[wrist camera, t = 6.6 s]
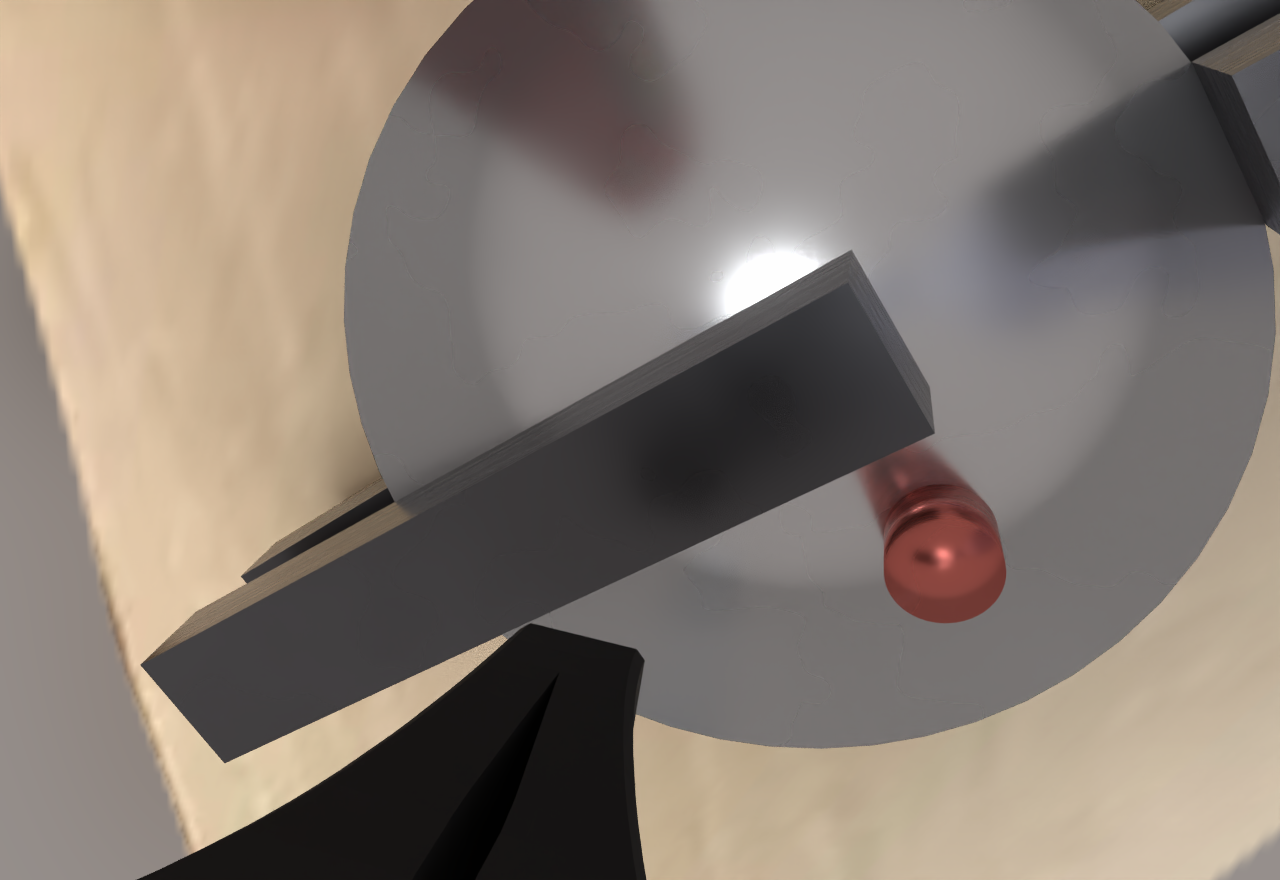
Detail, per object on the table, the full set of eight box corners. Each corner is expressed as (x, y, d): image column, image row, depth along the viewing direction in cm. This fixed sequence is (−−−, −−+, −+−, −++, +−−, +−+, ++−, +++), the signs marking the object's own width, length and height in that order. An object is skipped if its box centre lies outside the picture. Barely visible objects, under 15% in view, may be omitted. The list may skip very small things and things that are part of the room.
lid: (1223, -568, 11) (1302, -687, 9) (1622, 466, 14) (1745, 550, 12) (19, 353, 18) (-86, 400, 16) (451, 884, 21) (408, 978, 19)
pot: (1111, -440, 14) (1186, -570, 11) (1467, 340, 18) (1619, 438, 14) (171, 298, 22) (35, 364, 19) (531, 751, 25) (474, 882, 22)
